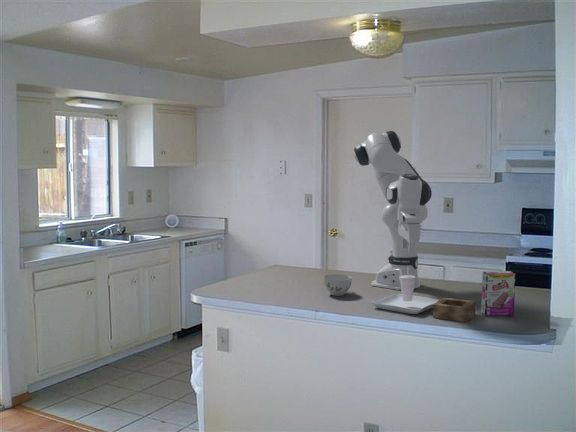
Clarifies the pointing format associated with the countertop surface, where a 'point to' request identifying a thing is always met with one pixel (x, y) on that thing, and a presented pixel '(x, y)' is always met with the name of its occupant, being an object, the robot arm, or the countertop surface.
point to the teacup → (337, 283)
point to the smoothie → (407, 286)
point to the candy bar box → (498, 293)
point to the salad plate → (405, 304)
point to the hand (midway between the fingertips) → (407, 250)
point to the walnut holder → (454, 309)
